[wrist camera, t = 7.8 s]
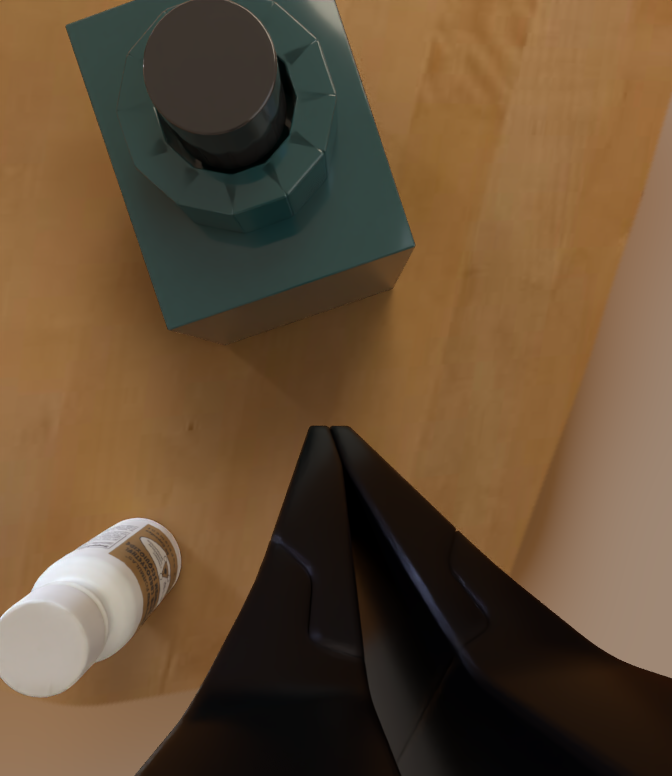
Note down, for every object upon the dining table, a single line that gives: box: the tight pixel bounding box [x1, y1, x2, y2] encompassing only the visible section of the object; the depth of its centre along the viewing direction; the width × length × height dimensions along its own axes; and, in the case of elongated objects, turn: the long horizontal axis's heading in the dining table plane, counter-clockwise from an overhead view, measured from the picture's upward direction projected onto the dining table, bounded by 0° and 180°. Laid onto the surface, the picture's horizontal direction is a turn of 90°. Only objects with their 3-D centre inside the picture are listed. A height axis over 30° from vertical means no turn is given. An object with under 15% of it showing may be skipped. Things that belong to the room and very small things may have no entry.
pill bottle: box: [0, 518, 181, 697], centre depth 19 cm, size 4×4×8 cm
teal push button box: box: [66, 0, 415, 345], centre depth 18 cm, size 11×9×9 cm
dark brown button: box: [143, 0, 287, 169], centre depth 13 cm, size 4×4×2 cm
